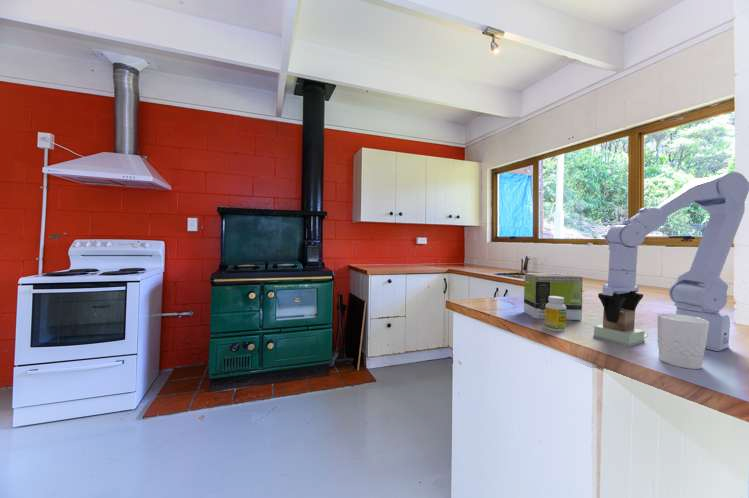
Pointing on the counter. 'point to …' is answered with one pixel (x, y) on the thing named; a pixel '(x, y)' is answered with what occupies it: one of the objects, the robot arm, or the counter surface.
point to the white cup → (682, 340)
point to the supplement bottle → (555, 314)
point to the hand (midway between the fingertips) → (619, 320)
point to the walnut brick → (621, 321)
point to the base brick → (619, 335)
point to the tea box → (552, 293)
